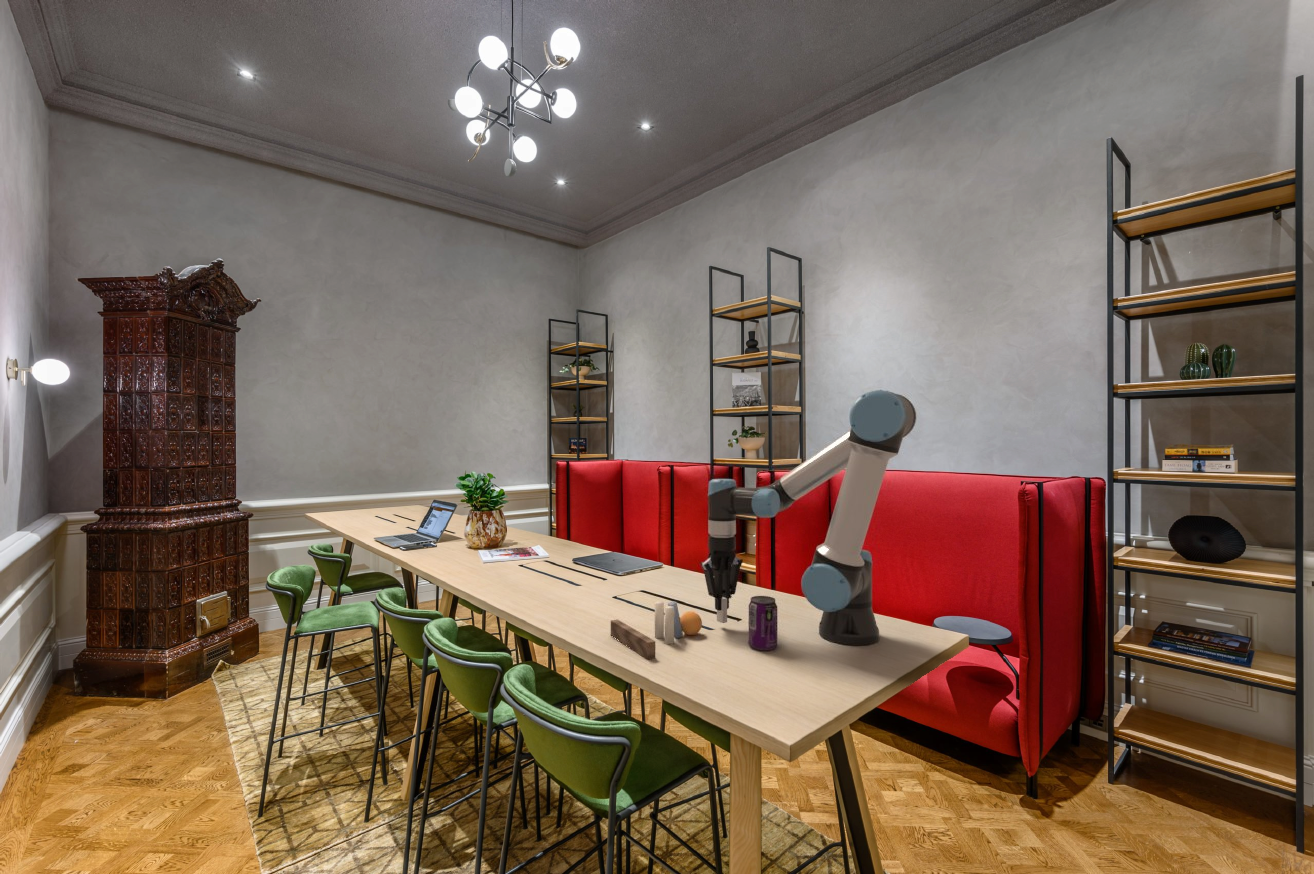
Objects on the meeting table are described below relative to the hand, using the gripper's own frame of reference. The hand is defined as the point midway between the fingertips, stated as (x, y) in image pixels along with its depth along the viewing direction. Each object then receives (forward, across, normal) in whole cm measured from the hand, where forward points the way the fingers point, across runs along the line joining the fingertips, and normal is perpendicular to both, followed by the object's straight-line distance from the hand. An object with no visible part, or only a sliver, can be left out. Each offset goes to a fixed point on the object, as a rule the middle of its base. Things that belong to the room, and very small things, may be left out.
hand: (721, 621), depth 162 cm
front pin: (+2, +14, 0) cm, 14 cm away
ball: (-1, +10, 0) cm, 10 cm away
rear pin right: (+2, +18, -2) cm, 19 cm away
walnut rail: (+2, +28, 0) cm, 28 cm away
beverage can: (+2, 0, +17) cm, 17 cm away
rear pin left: (+2, +18, +2) cm, 19 cm away
